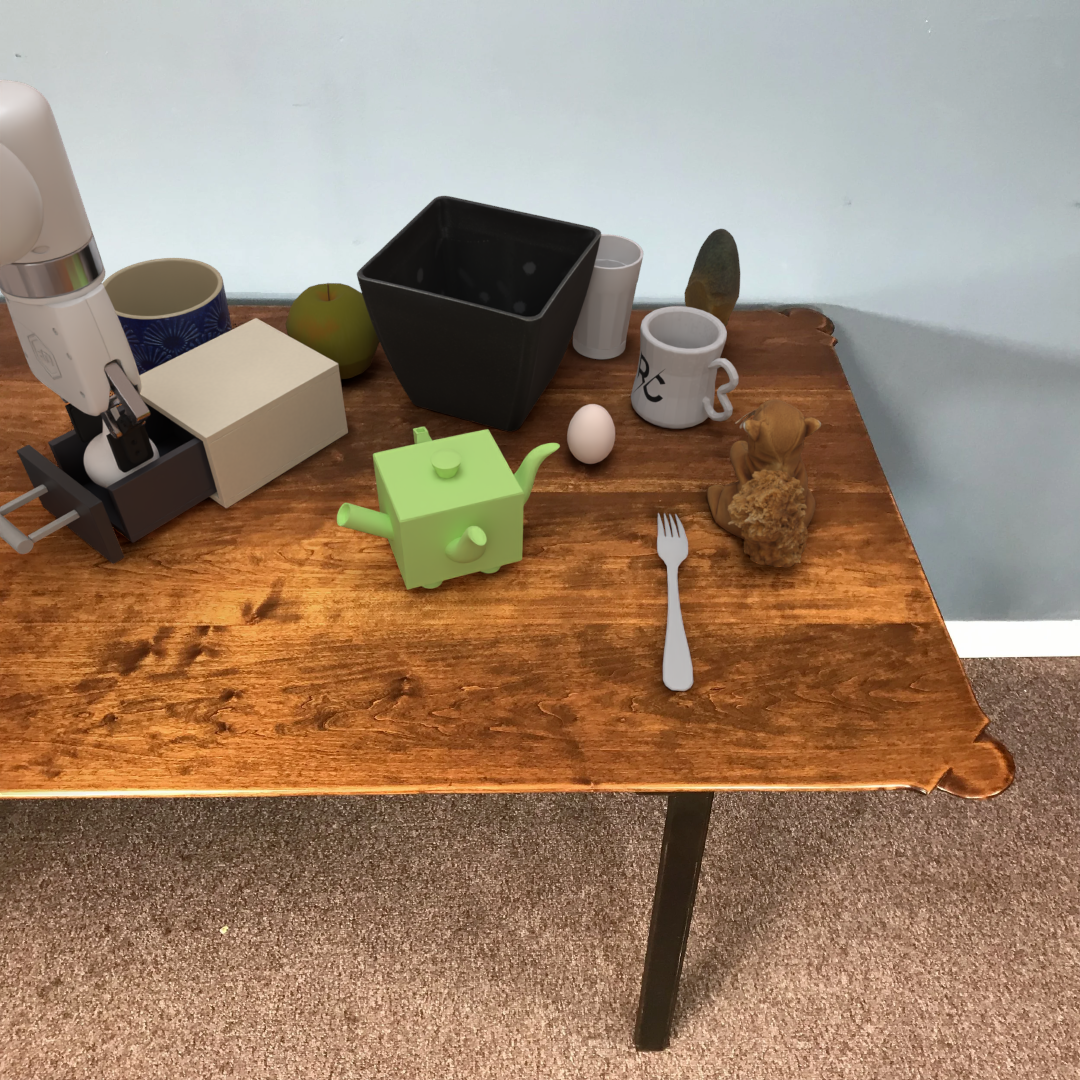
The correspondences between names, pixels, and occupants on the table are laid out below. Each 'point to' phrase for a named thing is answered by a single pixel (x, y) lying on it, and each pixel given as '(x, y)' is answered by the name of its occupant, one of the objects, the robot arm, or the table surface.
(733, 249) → the decorative stone
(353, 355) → the apple
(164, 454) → the drawer
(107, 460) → the garlic bulb
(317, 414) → the cabinet
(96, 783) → the table surface
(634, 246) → the cup
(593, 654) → the table surface
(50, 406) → the table surface
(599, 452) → the egg
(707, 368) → the mug
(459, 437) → the kettle
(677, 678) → the fork
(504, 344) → the flower pot
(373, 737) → the table surface
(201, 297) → the planter
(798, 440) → the stuffed squirrel
